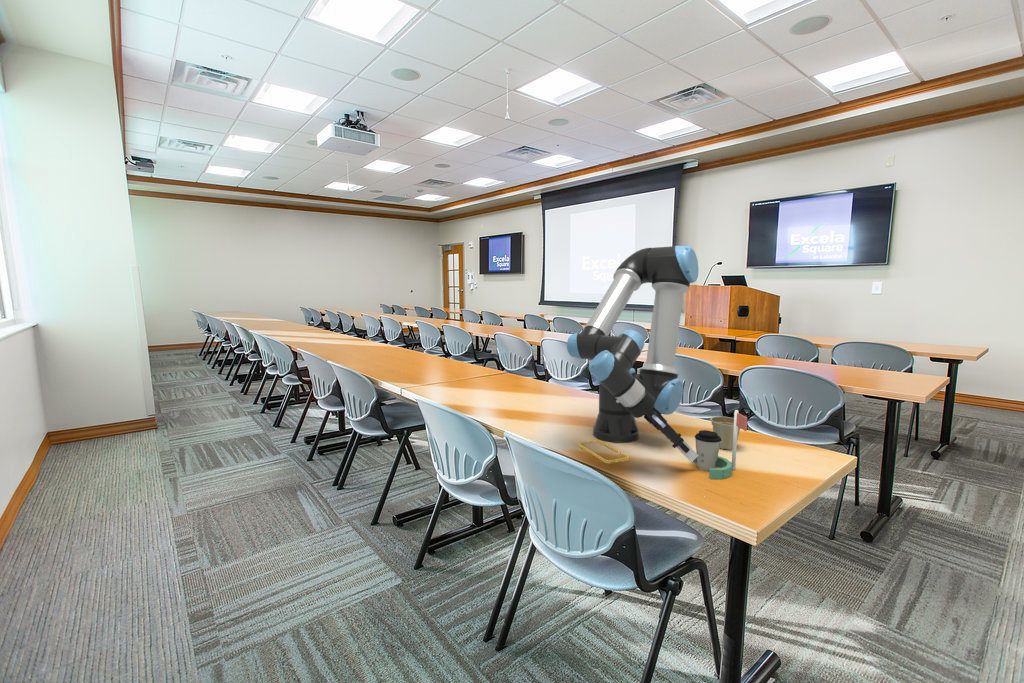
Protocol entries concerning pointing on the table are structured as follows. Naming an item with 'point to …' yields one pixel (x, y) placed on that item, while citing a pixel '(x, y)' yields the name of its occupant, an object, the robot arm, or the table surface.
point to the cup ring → (720, 469)
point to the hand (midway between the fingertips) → (693, 457)
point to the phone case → (600, 456)
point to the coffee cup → (707, 449)
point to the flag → (738, 422)
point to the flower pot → (724, 431)
